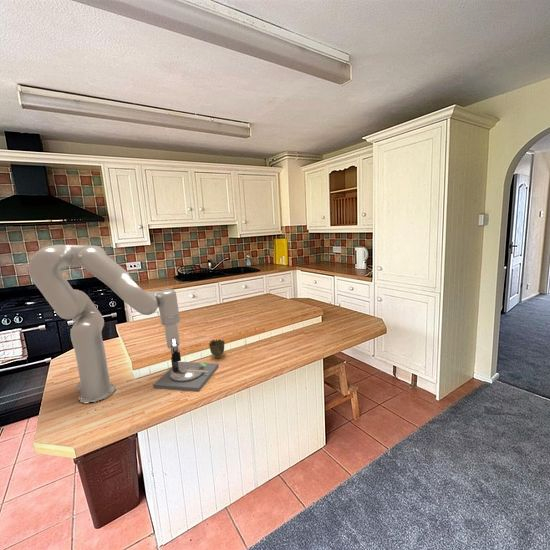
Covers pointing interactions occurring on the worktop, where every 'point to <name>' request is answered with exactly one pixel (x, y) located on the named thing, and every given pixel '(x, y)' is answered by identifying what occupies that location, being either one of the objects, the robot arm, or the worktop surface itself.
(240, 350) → the worktop surface
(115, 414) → the worktop surface
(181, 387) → the plate
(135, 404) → the worktop surface
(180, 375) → the dial
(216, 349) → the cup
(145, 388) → the worktop surface
